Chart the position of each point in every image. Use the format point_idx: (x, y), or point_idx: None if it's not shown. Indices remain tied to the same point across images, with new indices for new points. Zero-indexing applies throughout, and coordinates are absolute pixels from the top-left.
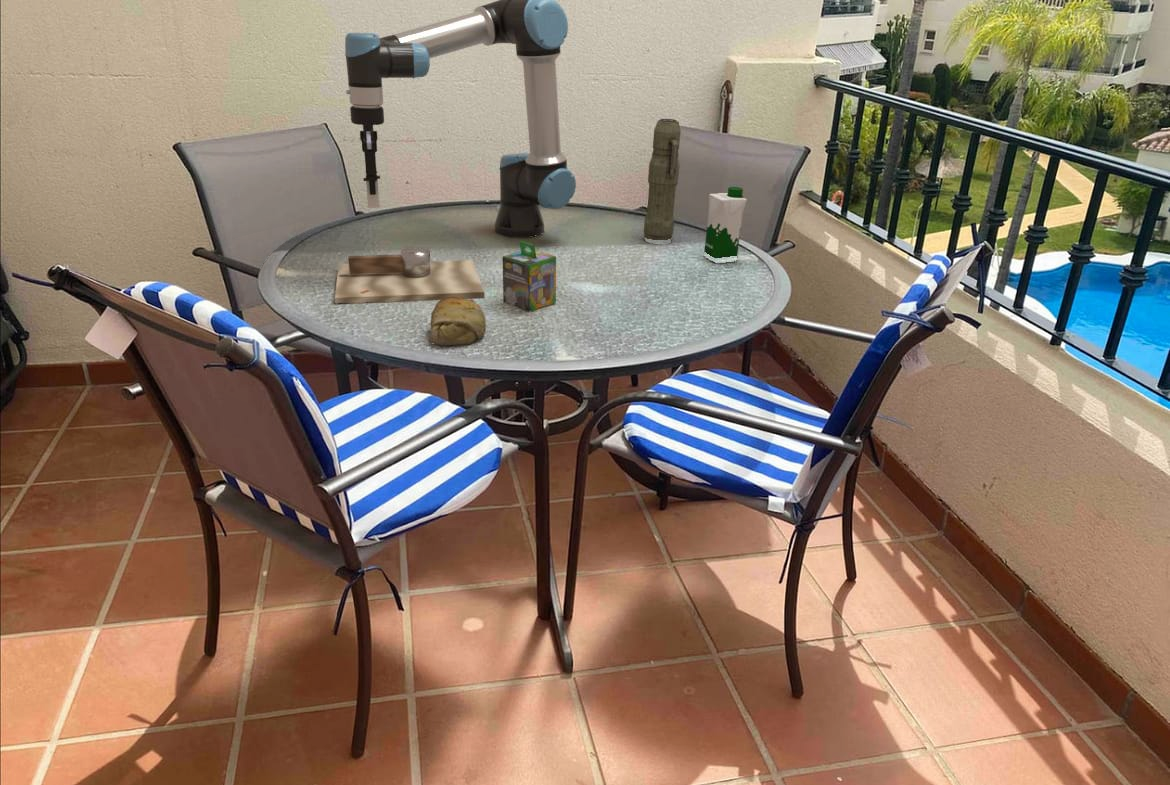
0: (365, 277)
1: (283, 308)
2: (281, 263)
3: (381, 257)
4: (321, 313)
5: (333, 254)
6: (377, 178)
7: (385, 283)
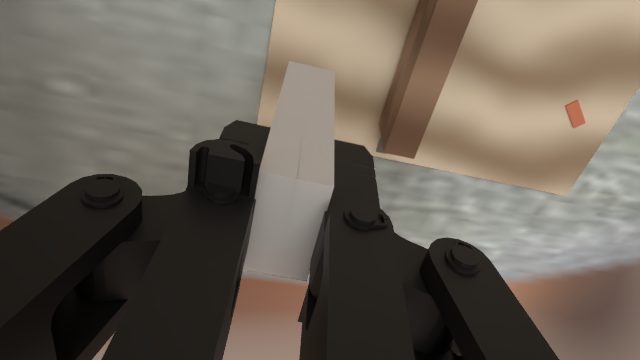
0: None
1: (510, 278)
2: None
3: (462, 38)
4: (598, 222)
5: (78, 107)
6: (378, 218)
7: (534, 29)
